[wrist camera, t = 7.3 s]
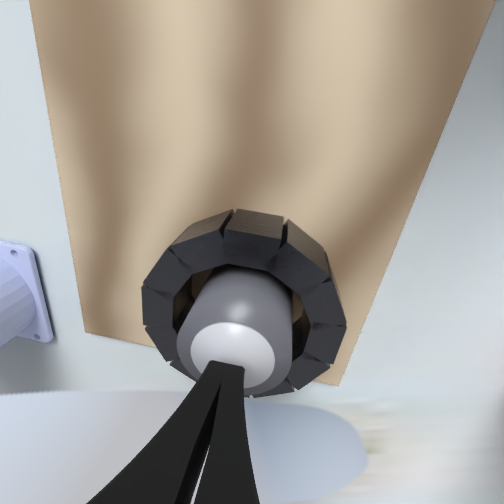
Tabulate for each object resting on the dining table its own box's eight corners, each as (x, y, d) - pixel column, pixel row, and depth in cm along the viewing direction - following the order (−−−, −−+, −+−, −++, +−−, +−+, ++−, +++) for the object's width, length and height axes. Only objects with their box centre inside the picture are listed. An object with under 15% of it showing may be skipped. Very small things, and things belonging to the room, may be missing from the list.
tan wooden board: (90, 326, 20) (85, 332, 20) (8, -202, 10) (-9, -221, 9) (337, 378, 19) (338, 386, 19) (549, -155, 9) (566, -173, 8)
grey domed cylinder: (206, 316, 18) (175, 387, 13) (209, 246, 15) (173, 300, 11) (285, 330, 17) (281, 408, 13) (299, 259, 15) (302, 322, 10)
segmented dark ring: (166, 338, 19) (145, 375, 16) (166, 195, 15) (137, 212, 12) (312, 369, 18) (315, 412, 16) (358, 229, 14) (374, 255, 11)
